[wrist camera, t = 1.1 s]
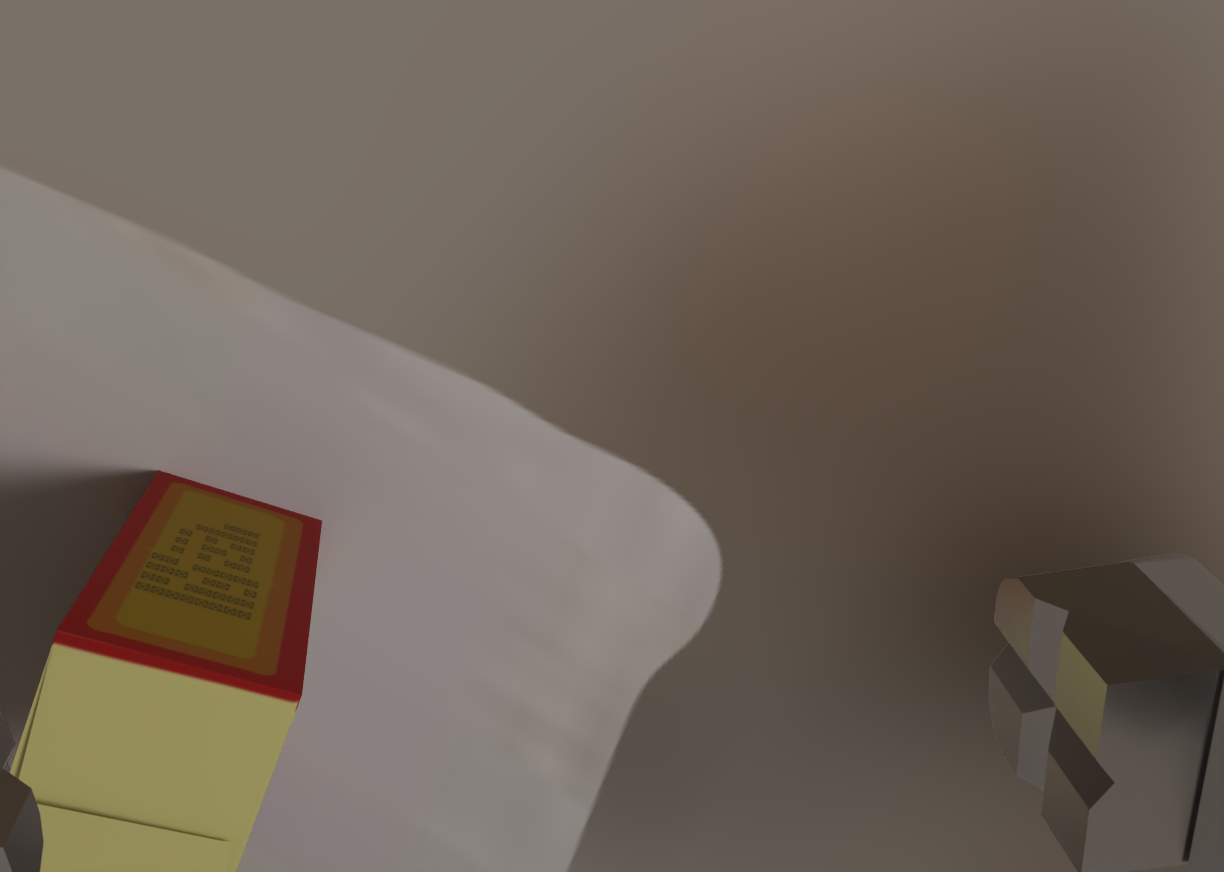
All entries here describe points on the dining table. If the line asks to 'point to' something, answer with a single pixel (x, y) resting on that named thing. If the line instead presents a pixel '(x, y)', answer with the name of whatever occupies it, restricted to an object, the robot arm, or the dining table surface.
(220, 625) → the baking soda box
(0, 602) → the dining table surface
